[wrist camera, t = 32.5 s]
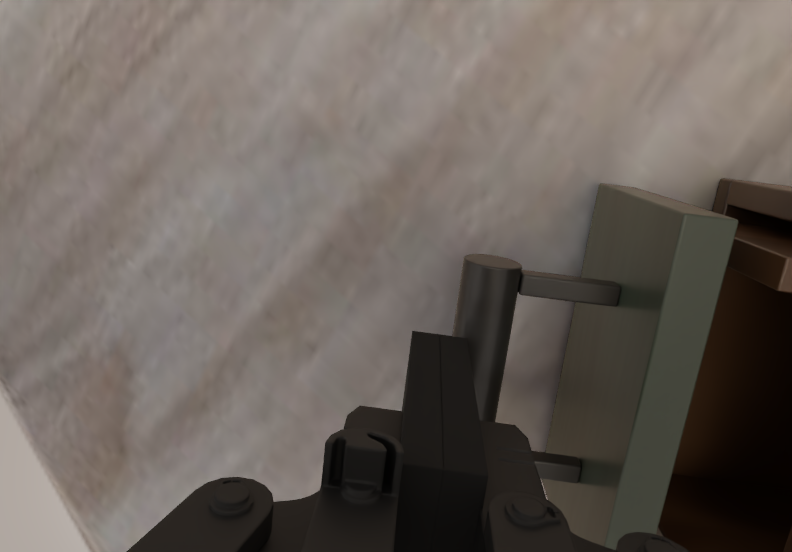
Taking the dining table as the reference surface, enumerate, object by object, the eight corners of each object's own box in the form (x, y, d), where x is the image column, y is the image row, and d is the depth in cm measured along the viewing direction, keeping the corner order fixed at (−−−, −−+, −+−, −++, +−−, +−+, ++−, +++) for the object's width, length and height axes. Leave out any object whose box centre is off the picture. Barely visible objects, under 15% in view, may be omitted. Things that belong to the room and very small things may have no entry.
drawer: (425, 460, 22) (422, 601, 16) (467, 167, 20) (485, 188, 13) (908, 526, 22) (1115, 700, 15) (1021, 234, 19) (1334, 292, 12)
